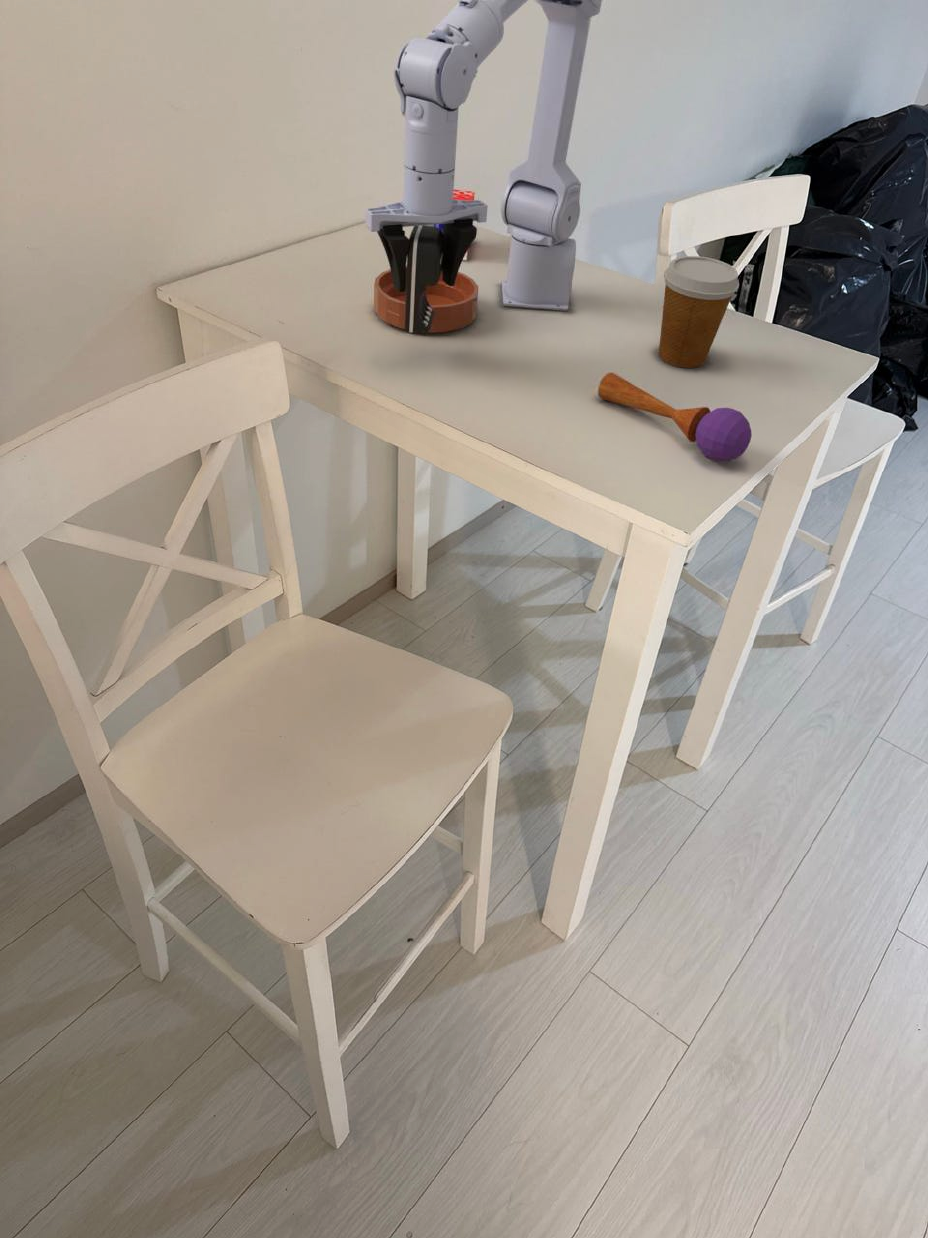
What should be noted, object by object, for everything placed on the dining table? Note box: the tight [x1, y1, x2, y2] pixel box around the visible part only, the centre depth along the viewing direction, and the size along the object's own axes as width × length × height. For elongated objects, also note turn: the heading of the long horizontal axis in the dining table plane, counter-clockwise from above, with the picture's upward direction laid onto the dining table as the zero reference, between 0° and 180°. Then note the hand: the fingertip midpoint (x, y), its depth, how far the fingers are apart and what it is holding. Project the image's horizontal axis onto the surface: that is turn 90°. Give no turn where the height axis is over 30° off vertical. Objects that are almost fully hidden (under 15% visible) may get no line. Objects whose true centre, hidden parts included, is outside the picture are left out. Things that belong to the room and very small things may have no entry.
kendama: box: [597, 372, 752, 463], centre depth 106 cm, size 6×6×20 cm
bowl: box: [373, 265, 479, 333], centre depth 126 cm, size 14×14×4 cm
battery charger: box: [403, 225, 444, 334], centre depth 110 cm, size 7×4×11 cm, turn 175°
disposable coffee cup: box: [658, 255, 740, 369], centre depth 118 cm, size 10×10×12 cm
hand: (424, 285), depth 110 cm, fingers closed on battery charger, 6 cm apart
